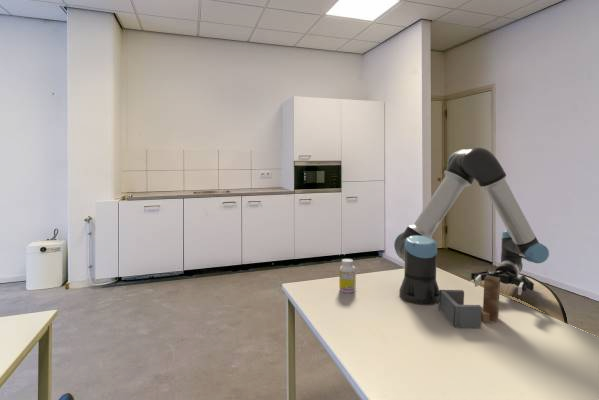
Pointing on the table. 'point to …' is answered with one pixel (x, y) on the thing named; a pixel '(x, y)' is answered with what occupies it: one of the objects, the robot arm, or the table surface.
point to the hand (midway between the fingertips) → (496, 286)
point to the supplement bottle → (347, 276)
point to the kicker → (490, 299)
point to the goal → (459, 309)
